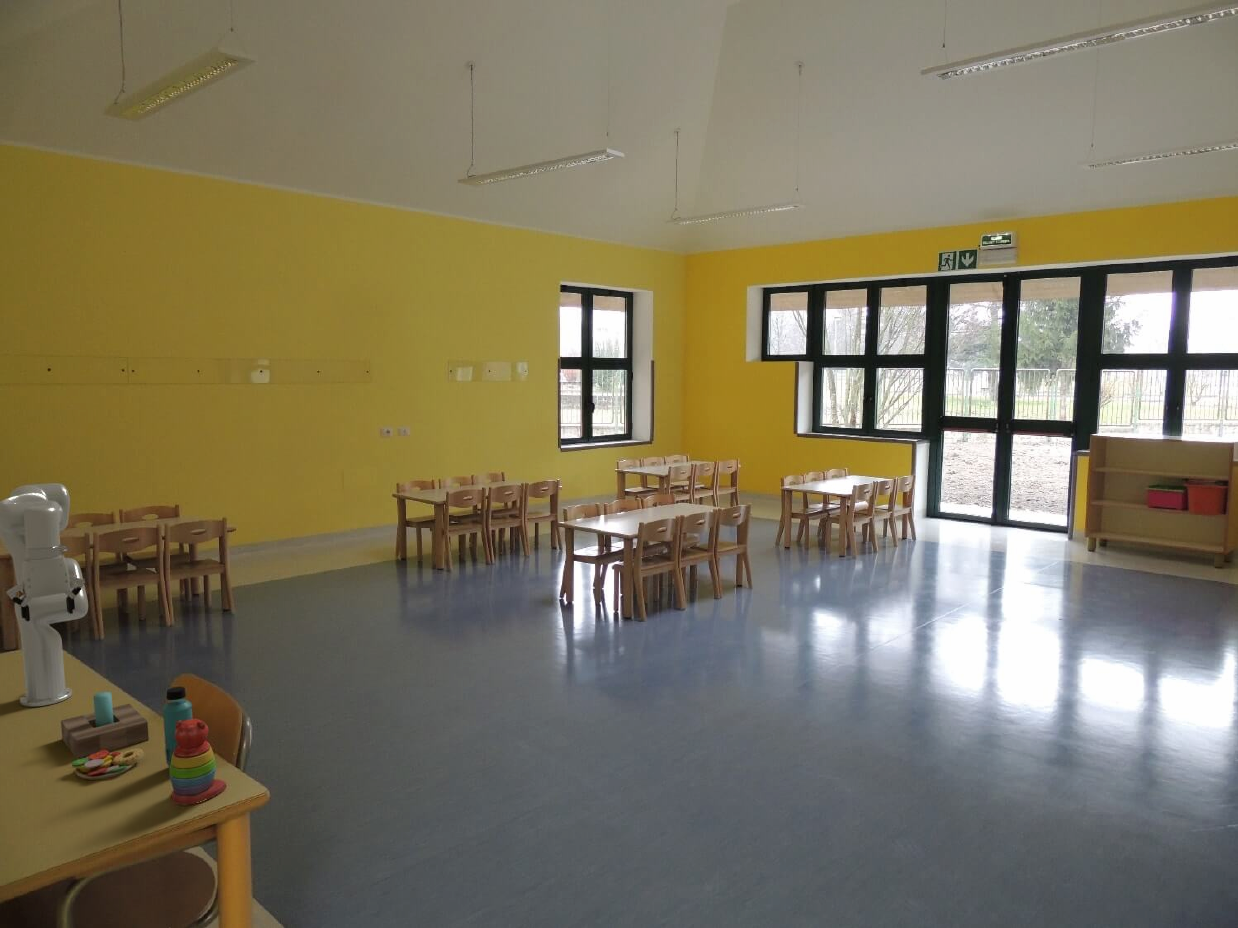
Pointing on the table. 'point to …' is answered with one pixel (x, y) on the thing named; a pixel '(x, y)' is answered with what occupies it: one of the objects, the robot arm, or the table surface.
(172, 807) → the table surface
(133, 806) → the table surface
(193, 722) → the stacking bear
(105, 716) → the peg
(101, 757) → the toy food set
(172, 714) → the beverage bottle
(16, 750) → the table surface
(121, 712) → the socket block
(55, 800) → the table surface
